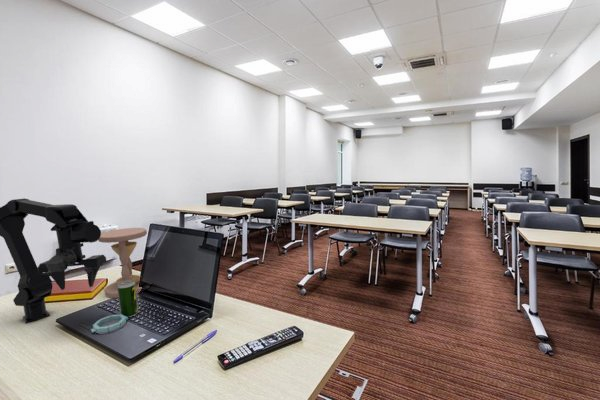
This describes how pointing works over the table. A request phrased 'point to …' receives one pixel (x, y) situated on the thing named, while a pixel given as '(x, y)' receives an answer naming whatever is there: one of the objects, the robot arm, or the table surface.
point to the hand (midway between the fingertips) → (77, 288)
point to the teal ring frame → (109, 324)
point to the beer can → (127, 298)
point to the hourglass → (123, 255)
